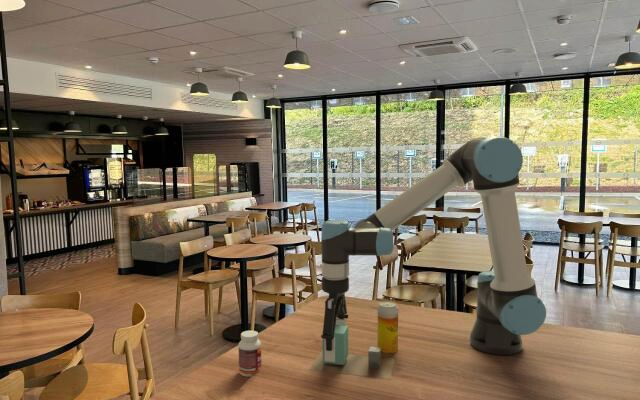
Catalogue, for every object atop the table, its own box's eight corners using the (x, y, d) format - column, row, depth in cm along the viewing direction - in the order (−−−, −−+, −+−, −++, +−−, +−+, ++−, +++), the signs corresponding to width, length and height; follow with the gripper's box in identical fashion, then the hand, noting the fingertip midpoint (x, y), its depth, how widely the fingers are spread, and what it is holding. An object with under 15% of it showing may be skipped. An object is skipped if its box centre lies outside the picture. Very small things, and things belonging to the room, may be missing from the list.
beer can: (397, 357, 138) (397, 308, 136) (376, 355, 139) (376, 306, 137) (398, 348, 144) (398, 301, 142) (378, 347, 145) (378, 300, 143)
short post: (380, 364, 130) (380, 347, 130) (379, 369, 128) (379, 352, 127) (369, 363, 131) (370, 346, 131) (368, 368, 128) (368, 351, 128)
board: (394, 363, 134) (395, 359, 134) (390, 383, 123) (390, 379, 122) (320, 355, 140) (320, 351, 140) (309, 373, 128) (309, 369, 128)
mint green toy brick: (348, 355, 134) (348, 325, 133) (343, 364, 128) (343, 333, 127) (327, 353, 136) (327, 323, 135) (322, 362, 130) (322, 331, 129)
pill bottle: (262, 376, 127) (262, 337, 126) (239, 378, 126) (238, 339, 124) (260, 365, 133) (259, 328, 132) (238, 368, 132) (237, 330, 130)
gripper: (332, 264, 142) (332, 332, 145) (309, 288, 118) (310, 368, 121) (356, 266, 141) (356, 334, 143) (338, 290, 117) (339, 372, 119)
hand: (335, 350), depth 132 cm, fingers open, 13 cm apart
